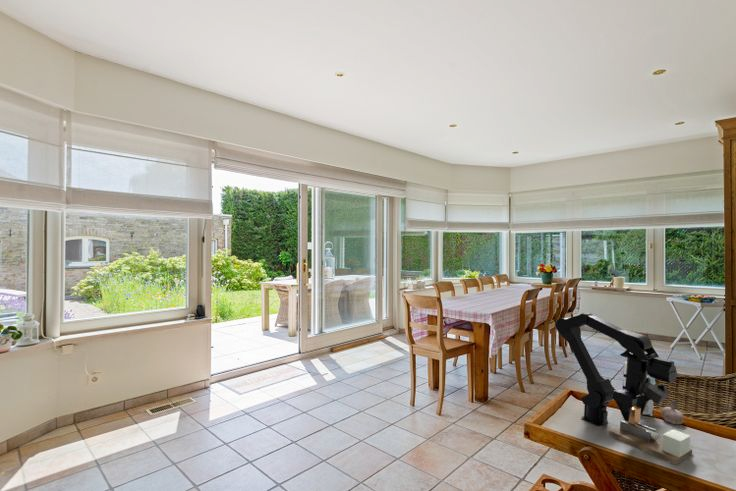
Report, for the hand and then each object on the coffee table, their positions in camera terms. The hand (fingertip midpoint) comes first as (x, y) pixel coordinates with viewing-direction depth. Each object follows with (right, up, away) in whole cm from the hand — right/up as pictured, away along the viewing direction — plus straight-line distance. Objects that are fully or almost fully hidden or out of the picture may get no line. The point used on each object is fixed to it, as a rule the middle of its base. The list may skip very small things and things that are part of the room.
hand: (633, 417), depth 131 cm
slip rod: (+1, -4, -2) cm, 5 cm away
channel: (+1, -5, -1) cm, 5 cm away
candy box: (+17, -7, +23) cm, 30 cm away
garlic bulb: (+23, -7, +13) cm, 28 cm away
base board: (+2, -7, -4) cm, 8 cm away
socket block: (+6, -6, -10) cm, 13 cm away
